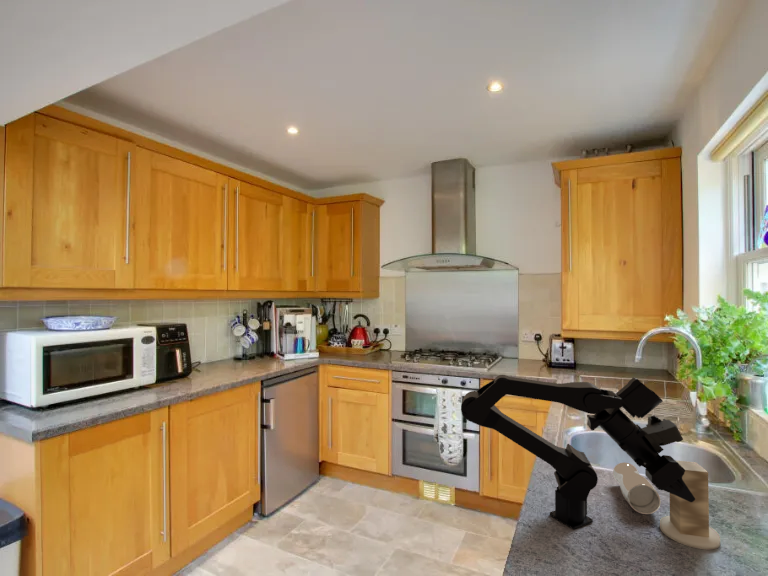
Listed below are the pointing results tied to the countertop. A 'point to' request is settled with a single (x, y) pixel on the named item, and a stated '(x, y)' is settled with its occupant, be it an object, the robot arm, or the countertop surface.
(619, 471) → the beer glass
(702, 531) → the wooden block
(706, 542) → the saucer
